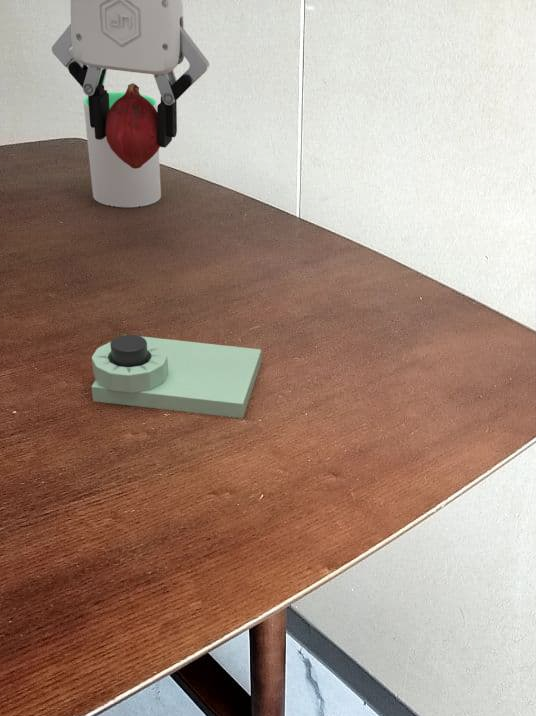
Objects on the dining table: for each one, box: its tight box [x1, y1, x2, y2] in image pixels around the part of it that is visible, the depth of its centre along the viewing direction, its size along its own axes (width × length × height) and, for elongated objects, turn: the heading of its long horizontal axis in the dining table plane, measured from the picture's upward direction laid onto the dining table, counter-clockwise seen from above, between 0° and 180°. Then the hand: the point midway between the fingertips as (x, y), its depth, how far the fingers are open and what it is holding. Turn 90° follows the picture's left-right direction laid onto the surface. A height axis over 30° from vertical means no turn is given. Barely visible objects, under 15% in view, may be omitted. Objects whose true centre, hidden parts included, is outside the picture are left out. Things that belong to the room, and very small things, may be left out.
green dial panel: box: [90, 335, 262, 419], centre depth 70 cm, size 12×9×3 cm
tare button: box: [109, 334, 148, 367], centre depth 68 cm, size 3×3×2 cm
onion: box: [105, 82, 161, 169], centre depth 88 cm, size 6×6×8 cm
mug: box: [83, 91, 162, 208], centre depth 102 cm, size 12×8×10 cm, turn 13°
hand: (134, 138), depth 89 cm, fingers closed on onion, 5 cm apart
